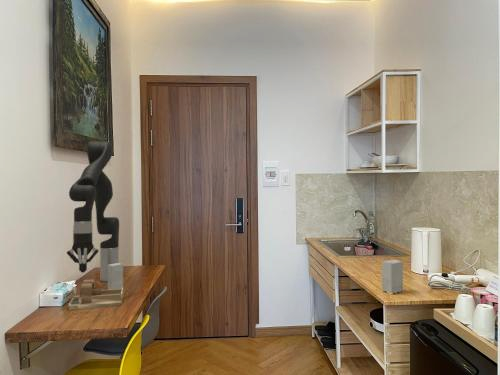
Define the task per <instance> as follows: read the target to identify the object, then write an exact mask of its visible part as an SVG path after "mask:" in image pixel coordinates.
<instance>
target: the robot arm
mask: <svg viewBox="0 0 500 375" xmlns="http://www.w3.org/2000/svg"><path fill="white" fill-rule="evenodd" d="M86 155H87V158H88V163H89V164H88V165H87V166H85V168H84V170H83V171H82V173H81V175H80V177H79V178H78V179H77V180H76V181H75V182H74V183H73V184H72V185H71V187H70V189H69V192H68V196H69V199H70V200H71V201H73V202H77V203H78V202H80V203H81V202H84V205H83V206H78V207H76V208H74V210H73V226H72V228H73V229H72V232H73V234H72V235H73V236H72V239H73V240H72V241H73V243H72V244H73V245H72V246H71V249H70V250H67V251H66V254H67V255H68V257H69V258H70V259H71V260H72V261H73V262H74V263H77V264H78V270H79V272H80V273H85V272H86V271H87V270H88V269H87V268H88V266H87V265H88V263H91V261H92V260H93V259H94V257H96V255H97V254H98V253H99V254H100V255H99V257H100V258H99V260H100V261H99V262H100V263H99V264H100V266H99V271H100V282H101V281H102V282H108V267H107V265H110V264H115V263H120V262H119V260H120V258H119V254H120V253H119V252H120V251H119V242H120V241H119V239H120V219H119V218H118V217H116V216H115V217H114V216H110V217H109V216H107V217H105V216H104V215H105V211H106V209H107V207H108V205H110V202H111V201H112V199H113V195H114V192H113V183H112V181H111V179H110V178H109V177H108V175H107V174H106V173H105V172H104V171H103V170H104V169H105V167H106V166H107V164H108V163H109V161H110V160H111V158H112V156H113V146H112V144H111V142H109V141H99V140H95V141H93V140H91V141H88V143H87V145H86ZM94 205H95V216H96V217H95V219H96V229H97V233H98V234H99V235H102V236H103V235H106V236H109V235H111V237H110V238H108V239H106V240H103V241H101V242H100V244H99V249H97V248H95V245H94V244H93V220H92V219H93V216H92V214H93V207H94ZM99 250H100V251H99ZM74 253H75V254H76V255H75V254H74ZM89 254H91V255H90V256H89V257H88V255H89ZM77 257H78V258H77Z"/></svg>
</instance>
